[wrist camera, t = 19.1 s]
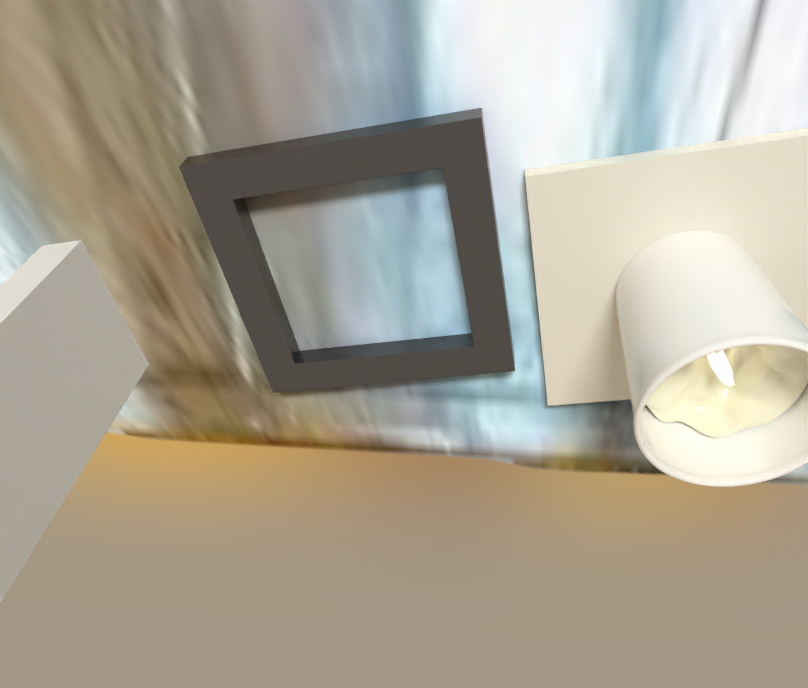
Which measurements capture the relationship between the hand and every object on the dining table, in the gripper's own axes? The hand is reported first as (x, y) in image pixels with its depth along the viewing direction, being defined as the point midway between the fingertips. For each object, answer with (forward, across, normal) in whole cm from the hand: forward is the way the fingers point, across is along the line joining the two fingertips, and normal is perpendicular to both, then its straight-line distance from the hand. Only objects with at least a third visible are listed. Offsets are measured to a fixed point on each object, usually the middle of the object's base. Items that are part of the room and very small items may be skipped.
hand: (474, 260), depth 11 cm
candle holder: (+28, +10, -20) cm, 36 cm away
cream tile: (+29, +10, -20) cm, 36 cm away
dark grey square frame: (+29, -10, -16) cm, 34 cm away
